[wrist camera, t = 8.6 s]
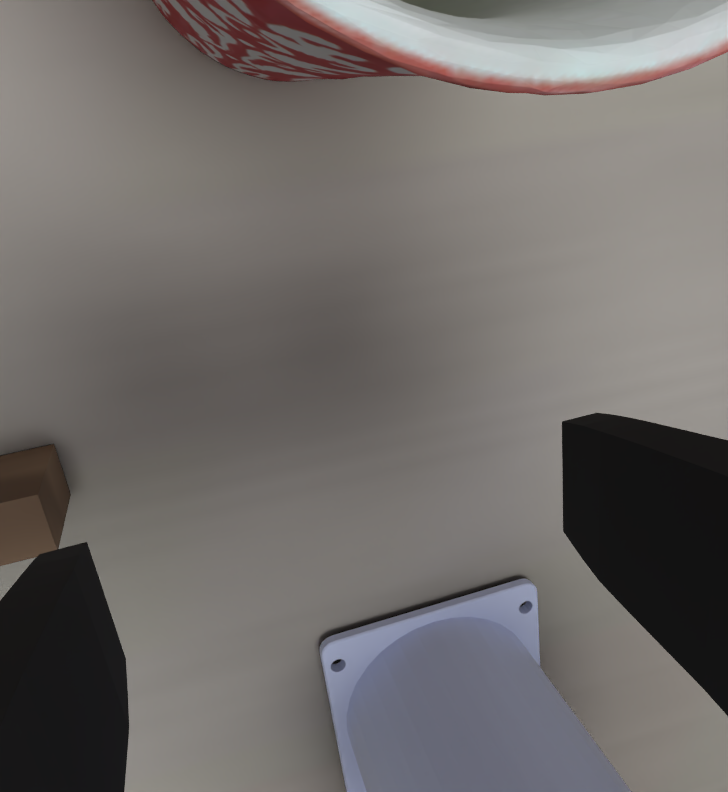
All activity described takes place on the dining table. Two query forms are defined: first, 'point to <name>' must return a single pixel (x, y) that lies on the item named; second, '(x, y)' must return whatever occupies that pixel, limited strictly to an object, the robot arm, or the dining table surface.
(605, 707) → the dining table surface
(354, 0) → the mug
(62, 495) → the rail
